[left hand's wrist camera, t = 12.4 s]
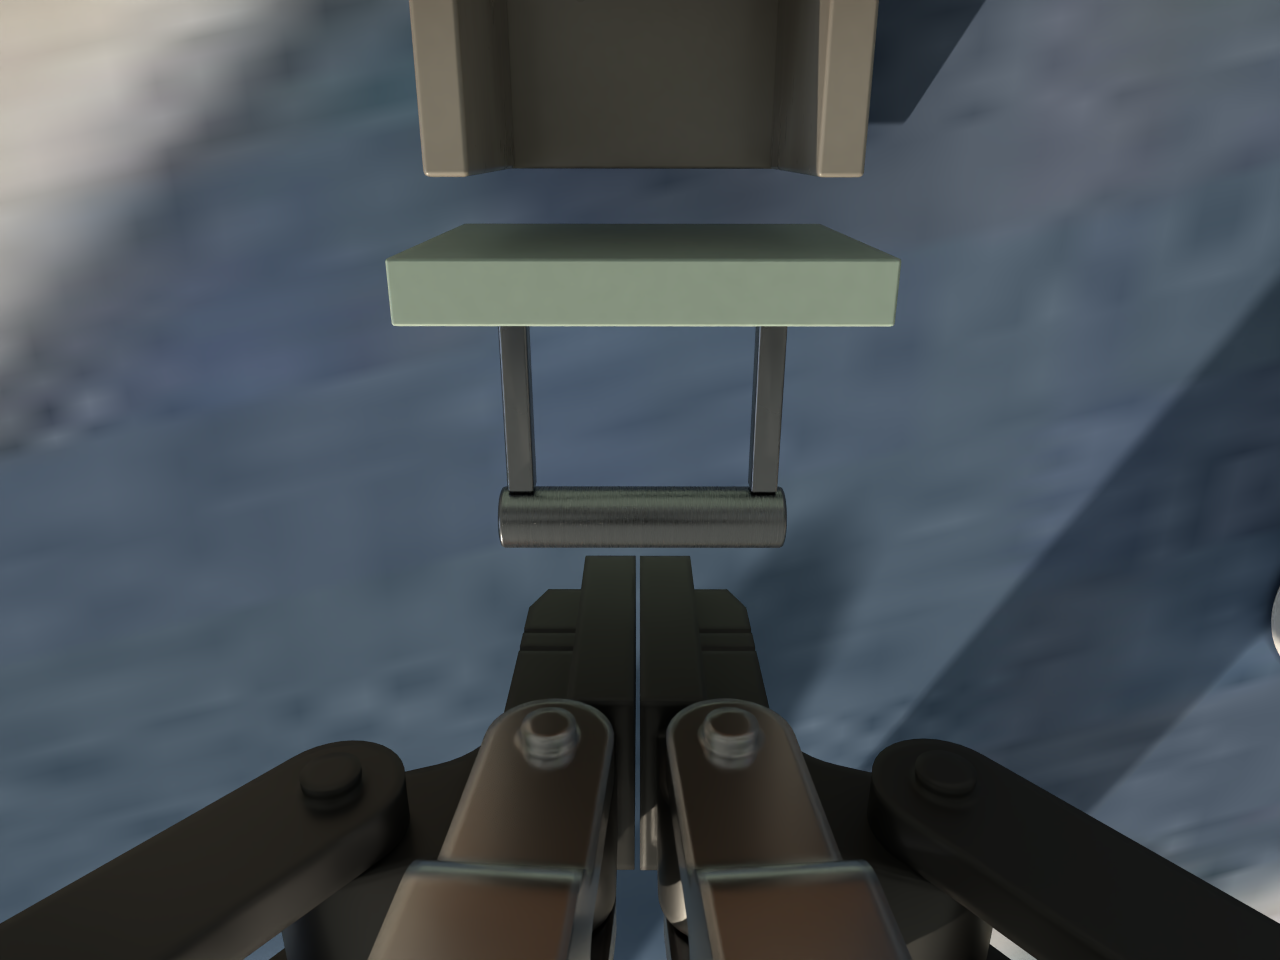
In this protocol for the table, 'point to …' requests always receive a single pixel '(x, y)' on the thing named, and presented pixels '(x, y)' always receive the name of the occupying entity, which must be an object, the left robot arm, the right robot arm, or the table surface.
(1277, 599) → the coffee cup
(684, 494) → the drawer
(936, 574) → the table surface
